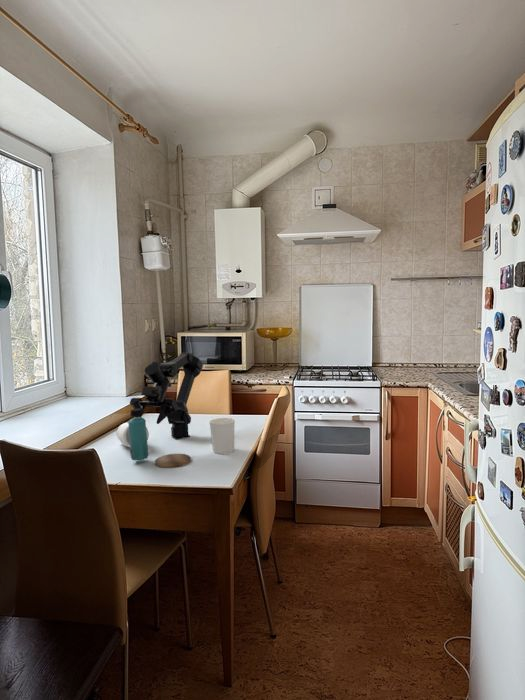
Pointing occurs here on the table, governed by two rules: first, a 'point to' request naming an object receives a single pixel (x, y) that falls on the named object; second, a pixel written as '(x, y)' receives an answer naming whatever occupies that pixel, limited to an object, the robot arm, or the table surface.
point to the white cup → (222, 435)
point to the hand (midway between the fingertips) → (146, 423)
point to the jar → (126, 434)
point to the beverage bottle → (138, 436)
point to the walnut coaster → (172, 460)
